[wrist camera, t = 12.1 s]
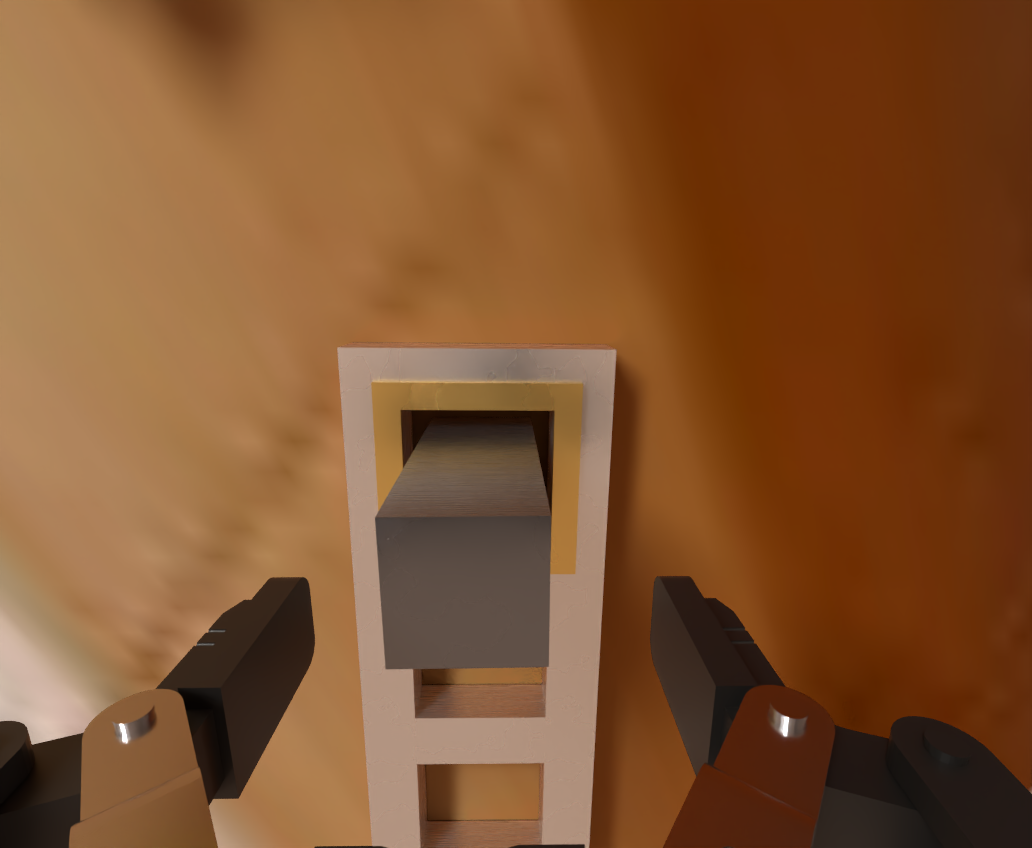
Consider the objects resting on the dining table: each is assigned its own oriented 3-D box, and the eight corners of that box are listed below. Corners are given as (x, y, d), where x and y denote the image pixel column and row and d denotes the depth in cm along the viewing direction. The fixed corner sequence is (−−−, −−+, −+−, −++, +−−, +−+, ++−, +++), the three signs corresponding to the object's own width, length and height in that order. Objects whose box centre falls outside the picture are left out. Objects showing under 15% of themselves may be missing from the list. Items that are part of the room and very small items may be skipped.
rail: (606, 344, 21) (618, 350, 19) (580, 853, 27) (587, 903, 25) (352, 342, 21) (335, 348, 19) (385, 856, 27) (374, 906, 25)
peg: (530, 416, 22) (551, 515, 12) (530, 507, 23) (548, 667, 13) (432, 417, 22) (374, 517, 12) (436, 508, 23) (385, 669, 13)
